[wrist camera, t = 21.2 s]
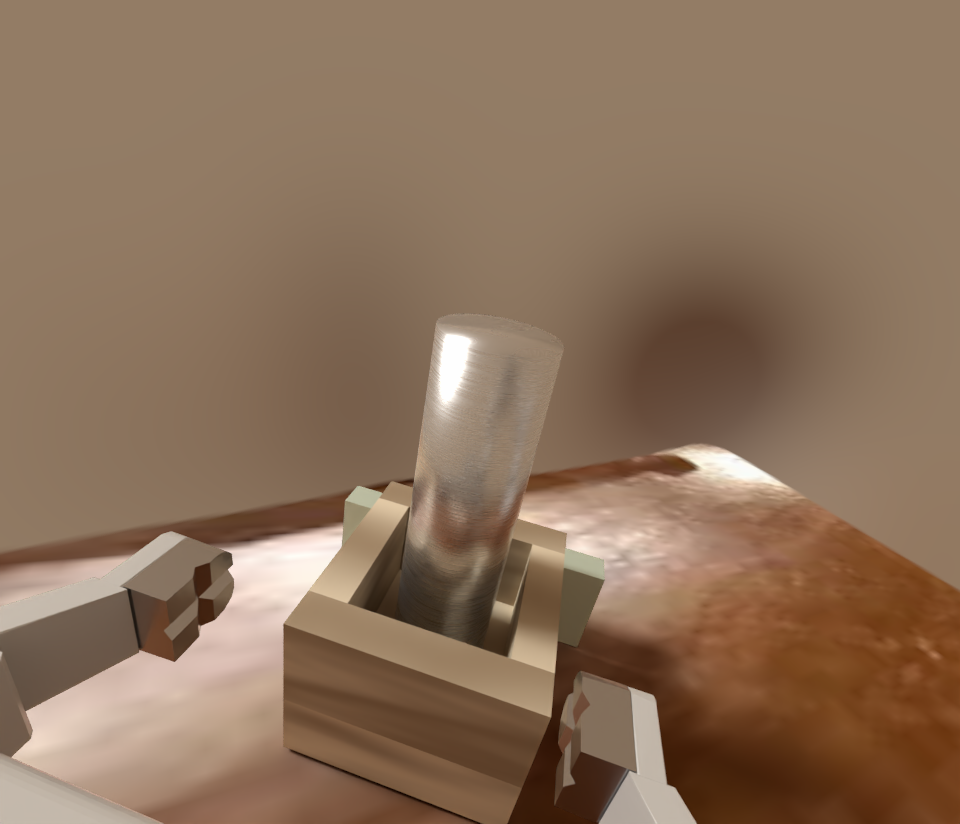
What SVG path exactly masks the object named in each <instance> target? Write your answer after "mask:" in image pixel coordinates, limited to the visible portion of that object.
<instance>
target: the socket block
mask: <svg viewBox="0 0 960 824" xmlns="http://www.w3.org/2000/svg"><path fill="white" fill-rule="evenodd" d="M412 492H413V488H412V487H409V486H405V485H402V484H399V483H395V482H391V483H390V484H389V486H388V487H387V488H386V490H385V491H384V492H383V493H382V495H381V496H380V497H379V499H378V500H377V501H376V503H375V504H374V505H373V507H372V508H371V509H370V511H369V512H368V513H367V515H366V516H365V517H364V519H363V520H362V521H361V522H360V524H359V525H358V526H357V528H356V529H355V530H354V532H353V533H352V534H351V536H350V537H349V538H348V540H347V541H346V542H345V544H344V545H343V546H342V547H341V549H340V550H339V551H338V553H337V554H336V555H335V557H334V558H333V559H332V561H331V562H330V563H329V565H328V566H327V567H326V569H325V570H324V571H323V573H322V574H321V575H320V576H319V578H318V579H317V580H316V582H315V583H314V584H313V586H312V587H311V588H310V590H309V591H308V592H307V594H306V595H305V596H304V598H303V599H302V600H301V602H300V603H299V604H298V605H297V607H296V608H295V609H294V611H293V612H292V613H291V615H290V616H289V617H288V619H287V620H286V621H285V623H284V712H283V746H284V747H286V748H289V749H291V750H294V751H297V752H299V753H302V754H304V755H307V756H310V757H312V758H315V759H317V760H320V761H322V762H325V763H328V764H330V765H333V766H335V767H338V768H340V769H343V770H346V771H348V772H351V773H353V774H356V775H358V776H361V777H364V778H366V779H369V780H371V781H374V782H377V783H379V784H382V785H384V786H387V787H389V788H392V789H395V790H397V791H400V792H402V793H405V794H407V795H410V796H413V797H415V798H418V799H420V800H423V801H425V802H428V803H431V804H433V805H436V806H438V807H441V808H444V809H446V810H449V811H451V812H454V813H456V814H459V815H462V816H464V817H467V818H469V819H472V820H474V821H477V822H480V823H482V824H507V823H508V821H509V818H510V816H511V813H512V811H513V809H514V806H515V804H516V801H517V799H518V796H519V794H520V792H521V789H522V787H523V784H524V782H525V780H526V777H527V775H528V772H529V770H530V767H531V765H532V763H533V760H534V758H535V755H536V753H537V750H538V748H539V746H540V743H541V741H542V738H543V736H544V734H545V731H546V729H547V726H548V724H549V721H550V719H551V713H552V701H553V689H554V677H555V665H556V653H557V642H558V630H559V618H560V606H561V594H562V582H563V570H564V559H565V547H566V535H567V533H563V532H560V531H557V530H553V529H550V528H547V527H543V526H540V525H536V524H533V523H530V522H526V521H523V520H520V519H518V520H517V523H516V527H515V531H514V534H513V538H512V542H511V545H510V549H509V553H508V557H507V560H506V564H505V568H504V571H503V575H502V579H501V582H500V586H499V590H498V593H497V597H496V601H495V604H494V608H493V612H492V615H491V619H490V623H489V627H488V630H487V634H486V638H485V641H484V645H483V649H481V648H478V647H475V646H472V645H469V644H466V643H463V642H460V641H457V640H454V639H451V638H448V637H445V636H443V635H440V634H437V633H434V632H431V631H428V630H425V629H422V628H419V627H416V626H413V625H410V624H407V623H404V622H401V621H398V620H395V613H396V606H397V599H398V592H399V585H400V578H401V571H402V563H403V556H404V549H405V542H406V535H407V528H408V521H409V514H410V507H411V499H412Z"/></svg>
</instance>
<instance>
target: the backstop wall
mask: <svg viewBox="0 0 960 824" xmlns="http://www.w3.org/2000/svg"><path fill="white" fill-rule="evenodd" d="M381 495H382V493H381V492H377V491H374V490H371V489H367V488H364V487H361V486H357V488H356V489H355V490H354V491H353V492H352V493H351V494H350V496H349V497H348V498H347V499H346V500H345V511H344V525H343V539H342V546H343V545H344V544H345V542H346V541H347V540H348V538H349V537H350V536H351V534H352V533H353V532H354V530H355V529H356V528H357V526H358V525H359V524H360V522H361V521H362V520H363V519H364V517H365V516H366V515H367V513H368V512H369V511H370V509H371V508H372V507H373V505H374V504H375V503H376V501H377V500H378V499H379V497H380V496H381ZM604 580H605V579H604V560H603V559H599V558H596V557H593V556H589V555H586V554H583V553H580V552H576V551H573V550H570V549H566V548H565V559H564V570H563V582H562V594H561V606H560V618H559V630H558V641H559V642H562V643H565V644H568V645H571V646H574V647H577V646H578V644H579V641H580V639H581V636H582V634H583V632H584V629H585V627H586V624H587V622H588V619H589V617H590V614H591V612H592V610H593V607H594V605H595V602H596V600H597V597H598V595H599V592H600V590H601V588H602V585H603V583H604Z"/></svg>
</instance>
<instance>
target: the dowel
mask: <svg viewBox="0 0 960 824" xmlns="http://www.w3.org/2000/svg"><path fill="white" fill-rule="evenodd" d="M563 350H564V345H563V343H562V342H561V341H560V340H559V339H558V338H557V337H555V336H554V335H552V334H550V333H548V332H546V331H544V330H542V329H540V328H537V327H534V326H532V325H529V324H525V323H522V322H519V321H515V320H511V319H506V318H502V317H496V316H490V315H481V314H452V315H446V316H443V317H441V318H439V319H438V320H437V323H436V330H435V336H434V343H433V350H432V357H431V364H430V372H429V379H428V386H427V393H426V400H425V407H424V414H423V421H422V428H421V436H420V443H419V450H418V457H417V464H416V471H415V478H414V485H413V492H412V499H411V507H410V514H409V521H408V528H407V535H406V542H405V549H404V556H403V563H402V571H401V578H400V585H399V592H398V599H397V606H396V613H395V620H398V621H401V622H404V623H407V624H410V625H413V626H416V627H419V628H422V629H425V630H428V631H431V632H434V633H437V634H440V635H443V636H445V637H448V638H451V639H454V640H457V641H460V642H463V643H466V644H469V645H472V646H475V647H478V648H481V649H483V645H484V641H485V638H486V634H487V630H488V627H489V623H490V619H491V615H492V612H493V608H494V604H495V601H496V597H497V593H498V590H499V586H500V582H501V579H502V575H503V571H504V568H505V564H506V560H507V557H508V553H509V549H510V545H511V542H512V538H513V534H514V531H515V527H516V523H517V520H518V516H519V512H520V509H521V505H522V501H523V498H524V494H525V490H526V487H527V483H528V479H529V475H530V472H531V468H532V464H533V461H534V457H535V453H536V450H537V446H538V442H539V439H540V435H541V431H542V427H543V424H544V420H545V416H546V413H547V409H548V405H549V402H550V398H551V394H552V391H553V387H554V383H555V380H556V376H557V372H558V368H559V365H560V361H561V357H562V354H563Z"/></svg>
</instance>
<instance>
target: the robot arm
mask: <svg viewBox="0 0 960 824" xmlns="http://www.w3.org/2000/svg"><path fill="white" fill-rule="evenodd" d="M232 565H233V562H232V554H231V553H229V552H226V551H224V550H221V549H218V548H215V547H213V546H210V545H207V544H205V543H202V542H199V541H197V540H194V539H191V538H189V537H186V536H183V535H180V534H177V533H174V532H168V533H164V534H162V535H160V536H159V537H157V538H156V539H155V540H153V541H152V542H151V543H149V544H148V545H146V546H145V547H144V548H142V549H141V550H140V551H138V552H137V553H135V554H134V555H133V556H131V557H130V558H129V559H127V560H126V561H124V562H123V563H122V564H120V565H119V566H118V567H116V568H115V569H113V570H112V571H111V572H109V573H108V574H107V575H105V576H104V577H102V578H101V579H98V578H95V577H93V578H90V579H87V580H84V581H81V582H77V583H74V584H71V585H68V586H65V587H61V588H58V589H55V590H52V591H48V592H45V593H42V594H39V595H36V596H32V597H29V598H26V599H23V600H19V601H16V602H13V603H10V604H7V605H3V606H0V824H163V823H161V822H159V821H156V820H154V819H152V818H150V817H147V816H145V815H143V814H140V813H138V812H136V811H133V810H131V809H129V808H126V807H124V806H122V805H119V804H117V803H115V802H113V801H110V800H108V799H106V798H103V797H101V796H99V795H96V794H94V793H92V792H89V791H87V790H85V789H83V788H80V787H78V786H76V785H73V784H71V783H69V782H66V781H64V780H62V779H59V778H57V777H55V776H52V775H50V774H48V773H46V772H43V771H41V770H39V769H36V768H34V767H32V766H29V765H27V764H25V763H22V762H20V761H18V760H16V759H13V758H11V757H12V756H13V755H14V754H15V753H16V752H17V751H18V750H19V749H20V748H21V747H22V746H23V745H24V744H25V743H27V742H28V741H29V740H30V739H31V735H32V731H33V730H32V727H31V724H30V722H29V719H28V717H27V714H26V712H25V711H27V710H29V709H31V708H33V707H35V706H37V705H39V704H40V703H42V702H44V701H46V700H48V699H50V698H52V697H54V696H56V695H58V694H60V693H62V692H64V691H66V690H67V689H69V688H71V687H73V686H75V685H77V684H79V683H81V682H83V681H85V680H87V679H89V678H91V677H93V676H94V675H96V674H98V673H100V672H102V671H104V670H106V669H108V668H110V667H112V666H114V665H116V664H118V663H120V662H121V661H123V660H125V659H127V658H129V657H131V656H133V655H135V654H137V653H139V650H142V651H145V652H147V653H150V654H153V655H156V656H159V657H162V658H165V659H168V660H171V661H174V662H175V661H176V660H177V659H178V658H179V657H180V656H181V655H182V654H183V653H184V652H185V651H186V650H187V649H188V648H189V647H190V646H191V644H192V643H193V642H194V641H195V640H196V639H197V638H198V637H199V635H200V628H201V625H204V624H206V623H209V622H211V621H213V620H215V619H216V618H217V617H218V616H219V615H220V613H221V612H222V611H223V610H224V609H225V607H226V605H227V604H228V602H229V600H230V598H231V597H232V593H233V589H234V579H233V577H232V576H231V574H230V573H229V571H228V569H229V568H230V567H231V566H232ZM558 745H559V747H560V749H561V751H562V753H563V754H562V757H561V759H560V761H559V763H558V766H557V768H556V784H555V800H554V806H555V807H558V808H560V809H563V810H565V811H567V812H570V813H572V814H575V815H577V816H580V817H582V818H584V819H587V820H589V821H592V822H594V823H596V824H697V823H696V821H695V819H694V818H693V816H692V815H691V813H690V811H689V810H688V808H687V806H686V805H685V803H684V801H683V800H682V798H681V796H680V795H679V793H678V791H677V790H676V788H675V787H672V786H670V785H667V778H666V770H665V763H664V755H663V748H662V740H661V733H660V725H659V718H658V711H657V703H656V700H655V698H654V696H653V695H651V694H649V693H646V692H643V691H640V690H637V689H634V688H631V687H627V686H626V685H624V684H620V683H617V682H614V681H611V680H608V679H605V678H602V677H599V676H596V675H593V674H589V673H586V672H583V671H579V672H578V673H577V676H576V678H575V680H574V691H573V693H572V694H569V695H568V697H567V699H566V702H565V704H564V708H563V712H562V716H561V721H560V728H559V739H558Z"/></svg>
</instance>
